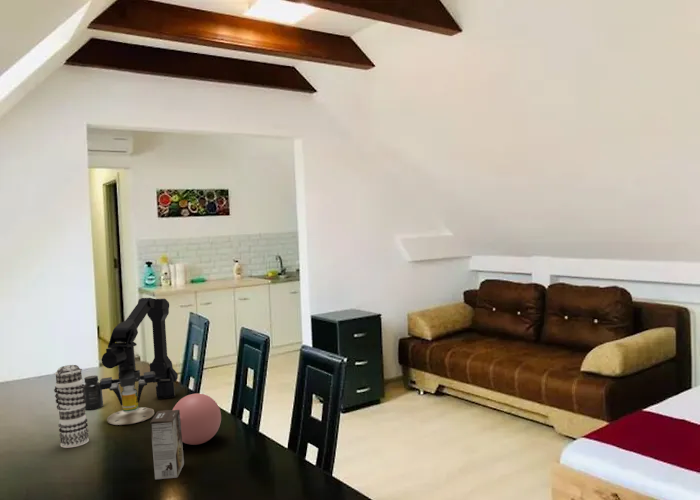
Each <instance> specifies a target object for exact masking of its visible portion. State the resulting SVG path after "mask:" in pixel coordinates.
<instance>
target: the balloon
mask: <svg viewBox="0 0 700 500" xmlns="http://www.w3.org/2000/svg"><path fill="white" fill-rule="evenodd" d="M172 410H179V411H180V422H181V433H182V443H184V444H187V445H191V446H192V445H193V446H197V445H202V444H204V443H207V442H208V441H210V440H211V439H212V438H213V437H214V436H215V435H216V434H217V432H218V431H219V428H220V425H221V421H222V414H221V413H222V412H221V408H220V405H218V403H217V402H216V401H215V400H214V399H213V398H212V397H211V396H209V395H207V394H204V393H200V392H199V393H192V394H190V393H189V394H188V395H185V396H183V397H182V398H180V399H179V400H178V402H176V404H175V405H174V406H173V408H172Z"/></svg>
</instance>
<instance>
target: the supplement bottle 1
mask: <svg viewBox="0 0 700 500" xmlns="http://www.w3.org/2000/svg"><path fill="white" fill-rule="evenodd" d="M84 383H85V384H84V385H85V387H84V388H82V389H85V390H86V391H85V392H84V393H83V395H85V396H86V397H85V398H84V399H83V400H86V403H85V404H86V406H85V407H84V408H85V410H86V411H89V410H90V411H91V410H92V411H93V410H97V409H101V408H102V407H104V398H103V390H100V381H99V376H98V375H89V376H85V377H84Z"/></svg>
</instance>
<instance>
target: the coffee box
mask: <svg viewBox="0 0 700 500" xmlns="http://www.w3.org/2000/svg"><path fill="white" fill-rule="evenodd" d="M150 435H151V445H152V448H151V449H152V457H153V459H152V460H153V469H154V471H153V472H154V480H162V479H164V480H165V479H173V478H174V479H175V478H178V477H179V475H180V473H181V471H182V468H183V467H184V465H185V459H184V450H183V448H184V447H183V442H182V433H181V422H180V411H179V410H173V409H172V410H171V409H165V410H158V411H156V413H154V415H153V416H152V419H151V420H150Z"/></svg>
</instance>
